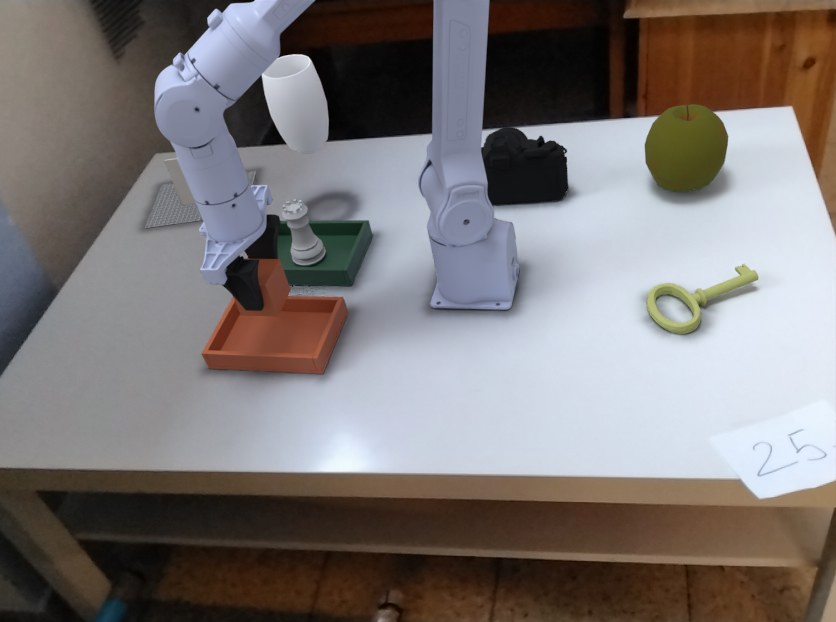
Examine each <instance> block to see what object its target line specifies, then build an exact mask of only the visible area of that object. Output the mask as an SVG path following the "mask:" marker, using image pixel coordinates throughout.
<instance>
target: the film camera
mask: <svg viewBox="0 0 836 622" xmlns="http://www.w3.org/2000/svg"><path fill="white" fill-rule="evenodd" d="M567 153H568V149H567V147H564V145H561V144H560V143H559V142H557V141H556V140H547V141H545V137H544V136H543V135H538V138H537V139H533V138H528V137H527V135H526V134H525V132H524V131H522V130H520V129H519V128H517V127H513V126H510V127H509V126H506V127H501V128H499V129H497V130H495V131H493V132H490V133H489V134H488V135H487V136H486V138H485V140H484V143H483V146H481V154H482V159H483V163H484V168H485V172H486V177H487V182H488V186H487V195H488V199H489V201H490V202H491V204H492V206H504V205H505V206H507V205H508V206H509V205H526V204H538V203H551V202H559V201H561V200H563V199H564V198H565V197H566V195H567V192H568V191H569V176H568V175H569V174H568V156H565V154H567Z"/></svg>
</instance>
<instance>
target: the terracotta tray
mask: <svg viewBox="0 0 836 622" xmlns="http://www.w3.org/2000/svg"><path fill="white" fill-rule="evenodd" d="M348 314H349V310H348V306H347V304H346V301H345V297H344V296H322V295H321V296H319V295H317V296H316V295H310V296H309V295H288V297H287V299H286V301H285V303H284V305H283V307H282V309H281V311H280V313H279V315H278V317H273V316H241V314H240V312H239V310H238V307H237V305H236V303H235V300H234V298H233V297H232V298H231V300H230V301H229V303H228V305H227V307H226V308H225V310H224V312H223V314H222V315H221V317H220V319H219V321H218V323H217V325H216V326H215V328H214V330H213V331H212V333H211V336H210V337H209V339H208V341H207V343H206V344H205V346H204V348H203V349H202V352H201V356H202V358H203V360H204V362H205V364H206V366H207V368H208V369H209V370H230V371H249V372H273V373H292V374H293V373H295V374H296V373H297V374H313V375H314V374H315V375H323V374H324V373H325V370H326V368H327V366H328V363H329V361H330V358H331V357H332V353H333V351H334V349H335V346H336V343H337V341H338V339H339V336H340V334H341V331H342V329H343V326H344V324H345V321H346V319H347V317H348Z"/></svg>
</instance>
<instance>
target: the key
mask: <svg viewBox="0 0 836 622" xmlns="http://www.w3.org/2000/svg"><path fill="white" fill-rule="evenodd" d="M734 271H735V272H736V273H737V274H738V275H737V276H735V277H733V278H730V279H728V280H725V281H723V282H720V283H717V284H715V285H712V286H709V287H707V288H704V289H702V288H699V287H698V288H696V289H695V290H694V293H690V292H689V291H688V290H687V289H686V288H685V287H682V286H681V285H678V284H676V283H671V282H664V283H660V284H657V285H655V286H653V287H652V288H651V289H650V290H649V292H648V295H647V297H646V309H647V312H648V314H649V315H650V317H651V318H652V319H653V320H654V322H655V323H657V324H658V326H660V327H661V328H663V329H664V330H666V331H669V332H670V333H673V334H679V335H685V334H690V333H692V332H693V331H695V330H696V329H697V328H698V327H699V326H700V323H701V319H702V312H701V308H700V306H706V305H707V303H708V301H710V300H712V299H714V298H717V297H719V296H722V295H725V294H727V293H729V292H732V291H733V290H737V289H739V288H741V287H744V286H746V285H749V284H752V283H754V282H757V281H758V280H759V273H758V272H757V271H756V269H752V270H751V268H749V267H748V266H747V264H745V263H742V264H741V265H737V266H735V267H734ZM663 295H671V296H673V297H676V298H678V299H680V300H681V301H683V302H684V303H685V304H686V305H687V306H688V308H689V309H690V310H691V312H692V314H693V316H692V318H691V319H689V320H688V321H686V322H676V321H674V320H671V319H668V318H667V317H666V316H664V315H663V314H662V313H661V311H660V310H659V308H658V306H657V300H656V299H657V298H658V297H660V296H663ZM699 305H700V306H699Z"/></svg>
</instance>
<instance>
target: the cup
mask: <svg viewBox="0 0 836 622" xmlns="http://www.w3.org/2000/svg"><path fill="white" fill-rule="evenodd" d="M261 79H262V87H263V92H264V96H265V101H266V103H267V108H268V110H269V111H268V112H269V114H270V117H271V119H272V121H273V123H274V125H275V128H276V130H277V131H278V133H279V135H280V136H281V138H282V140H283V141H284V142H285V143H286V145H287V146H288V148H289V150H292V151H295V152H299V153H300V154H302V155H313V154H315V153H317V152H319V151H320V150H321V149H322V146H323V145H325V143H326V142H327V141H328V139H329V138H328V137H329V126H330V125H329V124H330V123H329V122H330V119H329V109H328V100H327V98H326V95H325V91H324V88H323V84H322V81H321V79H320V76H319V74H318V73H317V70H316V68H315V65H314V63H313V61H312V59H311V58H310V57H309V56H307V55H305V54H298V53H297V54H288V55H283V56H279V57H278V58H277V59H276V60H275V61H274V62H273V63H272V64H271V65H270V66H269V67H268V68H267V69H266V70H265V72H264V73H263V74H262V75H261Z"/></svg>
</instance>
